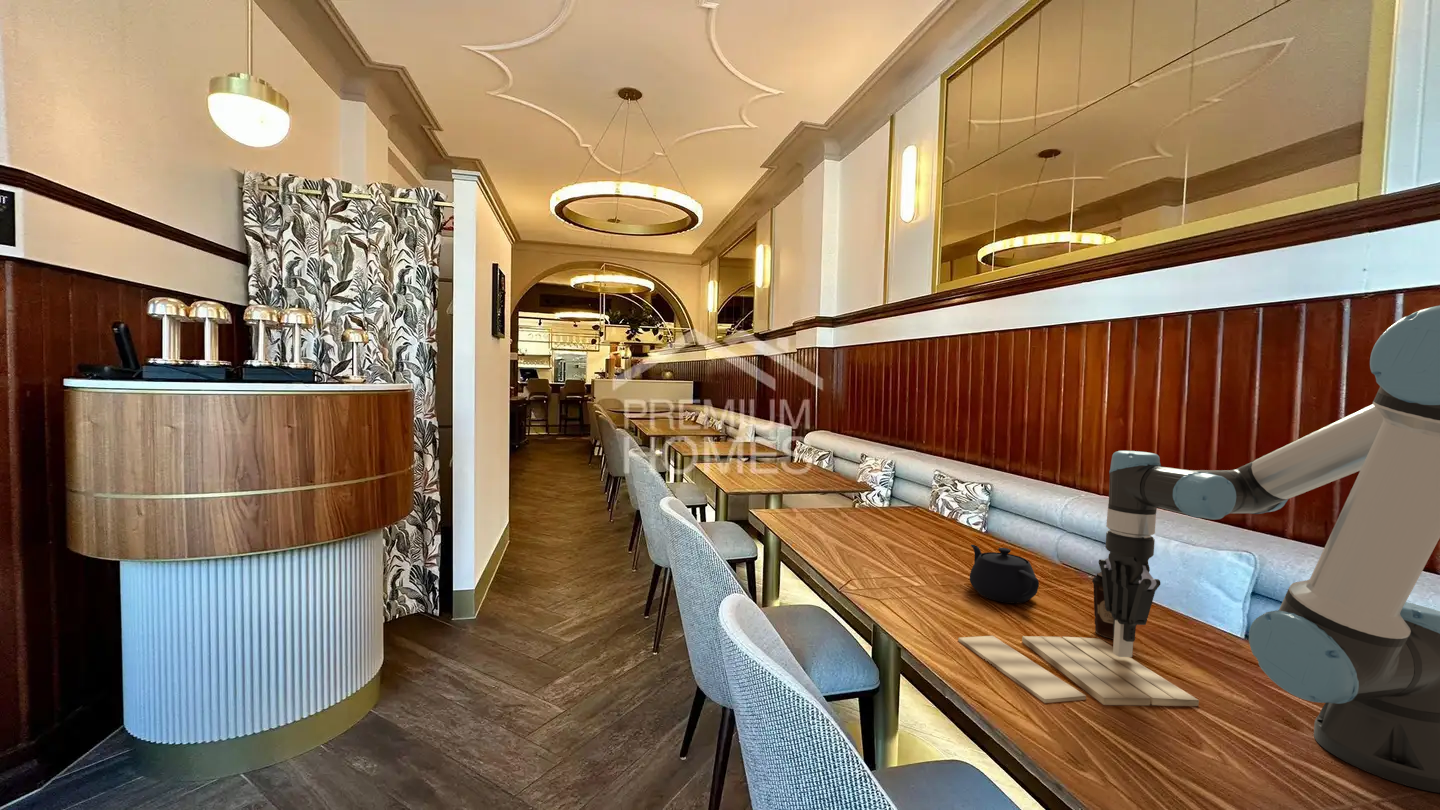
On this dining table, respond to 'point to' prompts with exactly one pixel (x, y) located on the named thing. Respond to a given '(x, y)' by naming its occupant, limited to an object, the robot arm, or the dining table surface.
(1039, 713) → the dining table surface
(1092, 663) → the laid board
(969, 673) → the dining table surface
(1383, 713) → the robot arm
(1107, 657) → the plank
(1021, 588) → the teapot
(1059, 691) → the plank
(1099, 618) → the coffee cup
